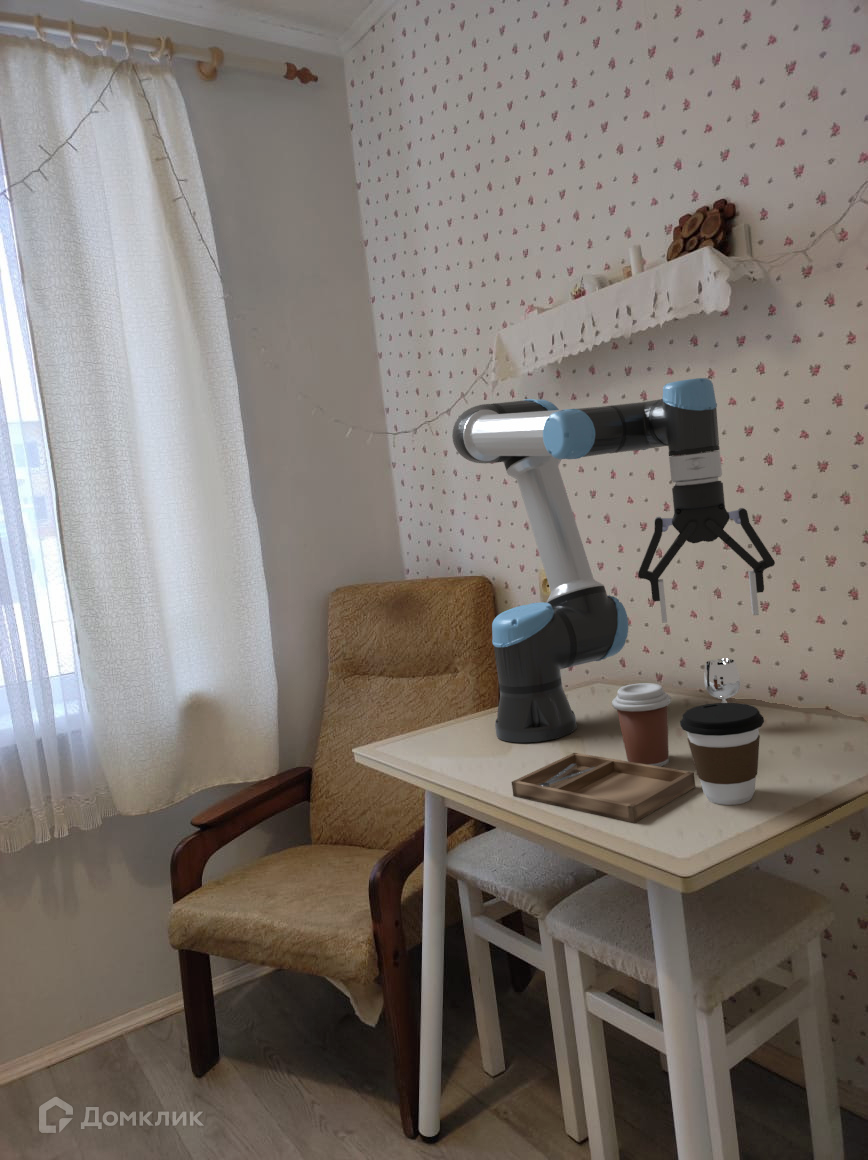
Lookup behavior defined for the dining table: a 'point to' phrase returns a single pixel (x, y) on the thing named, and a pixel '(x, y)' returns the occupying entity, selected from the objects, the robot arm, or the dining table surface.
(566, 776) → the steel tongs
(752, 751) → the coffee cup
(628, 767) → the walnut caddy
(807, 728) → the dining table surface
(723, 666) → the wineglass
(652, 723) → the coffee cup
